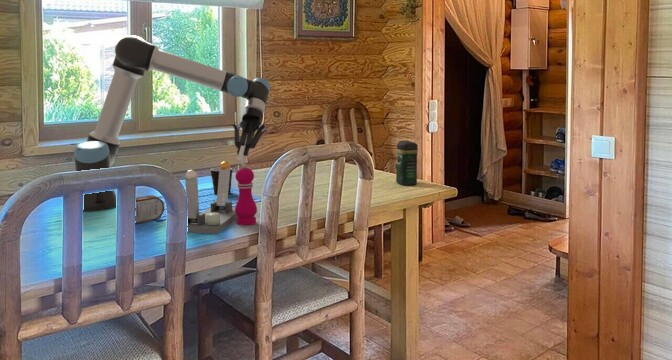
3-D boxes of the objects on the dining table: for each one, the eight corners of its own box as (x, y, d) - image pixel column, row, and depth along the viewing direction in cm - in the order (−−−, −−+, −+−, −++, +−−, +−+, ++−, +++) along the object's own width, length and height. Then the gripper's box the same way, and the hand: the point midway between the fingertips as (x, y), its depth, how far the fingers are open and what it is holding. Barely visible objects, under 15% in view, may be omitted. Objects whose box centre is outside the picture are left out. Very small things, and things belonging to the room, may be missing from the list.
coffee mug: (228, 196, 239) (227, 171, 237) (208, 195, 241) (206, 170, 239) (239, 190, 250) (238, 166, 248) (219, 189, 252) (218, 165, 250)
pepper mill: (238, 219, 204) (236, 161, 200) (259, 220, 204) (257, 161, 200) (232, 225, 197) (230, 165, 193) (254, 226, 197) (252, 165, 193)
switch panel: (180, 232, 190) (179, 216, 189) (211, 211, 215) (211, 197, 214) (216, 234, 188) (216, 218, 187) (244, 213, 213) (243, 199, 212)
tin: (161, 216, 209) (160, 193, 207) (166, 218, 207) (164, 194, 205) (119, 225, 199) (117, 200, 197) (123, 227, 197) (121, 201, 195)
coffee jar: (419, 185, 257) (420, 141, 254) (402, 186, 255) (403, 142, 252) (410, 180, 267) (411, 139, 263) (393, 182, 264) (394, 139, 261)
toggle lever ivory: (186, 224, 191) (183, 170, 188) (190, 221, 195) (187, 168, 191) (196, 224, 191) (193, 171, 187) (201, 221, 194) (198, 169, 191)
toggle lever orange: (214, 209, 206) (218, 160, 209) (218, 210, 210) (222, 162, 212) (224, 210, 206) (228, 160, 208) (228, 211, 209) (232, 162, 212)
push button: (203, 225, 190) (203, 215, 189) (209, 221, 194) (208, 212, 193) (217, 225, 189) (216, 216, 188) (222, 222, 193) (221, 212, 193)
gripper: (272, 118, 238) (259, 168, 225) (240, 118, 241) (226, 167, 228) (267, 106, 232) (254, 156, 219) (235, 106, 234) (220, 155, 222)
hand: (240, 162), depth 224 cm, fingers closed
